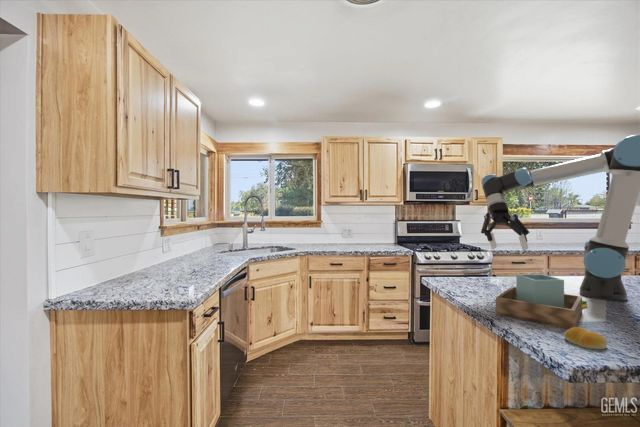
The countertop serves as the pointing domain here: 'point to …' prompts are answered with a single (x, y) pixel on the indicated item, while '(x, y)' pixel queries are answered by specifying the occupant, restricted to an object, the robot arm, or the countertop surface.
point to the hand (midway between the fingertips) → (510, 248)
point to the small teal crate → (540, 289)
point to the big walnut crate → (540, 310)
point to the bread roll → (585, 338)
